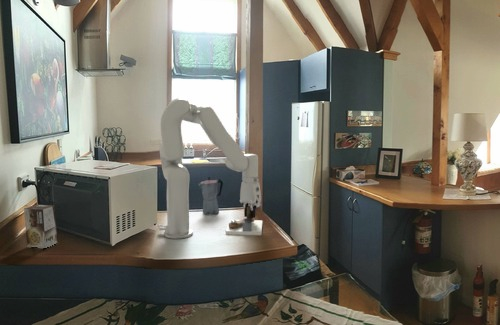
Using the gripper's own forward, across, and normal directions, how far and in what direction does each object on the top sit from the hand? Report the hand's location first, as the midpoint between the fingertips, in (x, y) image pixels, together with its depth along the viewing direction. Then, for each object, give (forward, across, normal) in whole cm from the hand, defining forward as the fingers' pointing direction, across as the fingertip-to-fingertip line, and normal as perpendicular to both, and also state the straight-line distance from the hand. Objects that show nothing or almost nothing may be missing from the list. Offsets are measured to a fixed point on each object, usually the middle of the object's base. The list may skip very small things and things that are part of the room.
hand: (249, 216), depth 166 cm
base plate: (+5, -1, +5) cm, 7 cm away
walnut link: (+3, 0, +6) cm, 6 cm away
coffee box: (+5, +41, +78) cm, 89 cm away
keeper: (+3, -4, +10) cm, 11 cm away
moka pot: (+5, +32, -2) cm, 32 cm away
